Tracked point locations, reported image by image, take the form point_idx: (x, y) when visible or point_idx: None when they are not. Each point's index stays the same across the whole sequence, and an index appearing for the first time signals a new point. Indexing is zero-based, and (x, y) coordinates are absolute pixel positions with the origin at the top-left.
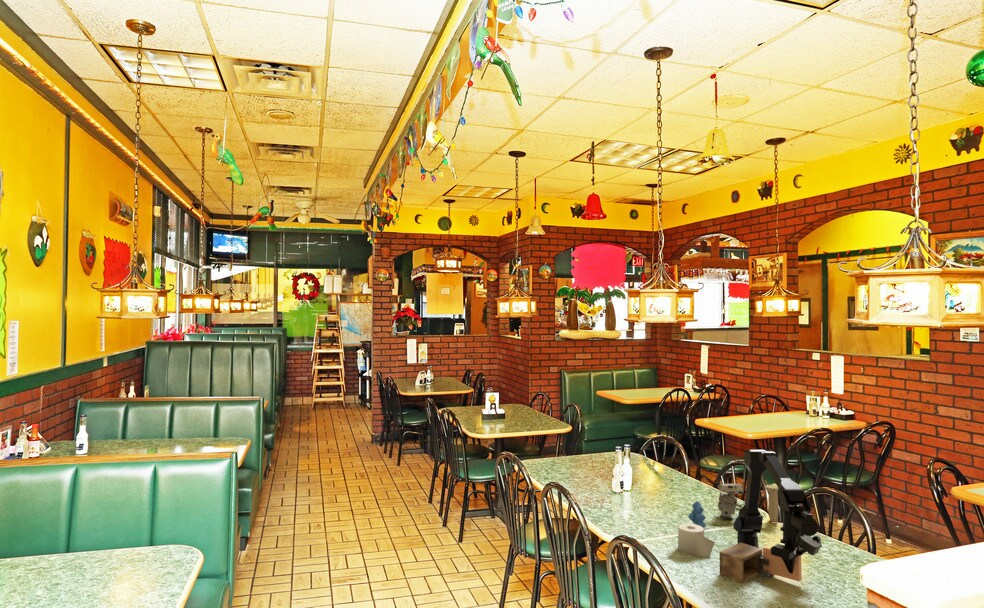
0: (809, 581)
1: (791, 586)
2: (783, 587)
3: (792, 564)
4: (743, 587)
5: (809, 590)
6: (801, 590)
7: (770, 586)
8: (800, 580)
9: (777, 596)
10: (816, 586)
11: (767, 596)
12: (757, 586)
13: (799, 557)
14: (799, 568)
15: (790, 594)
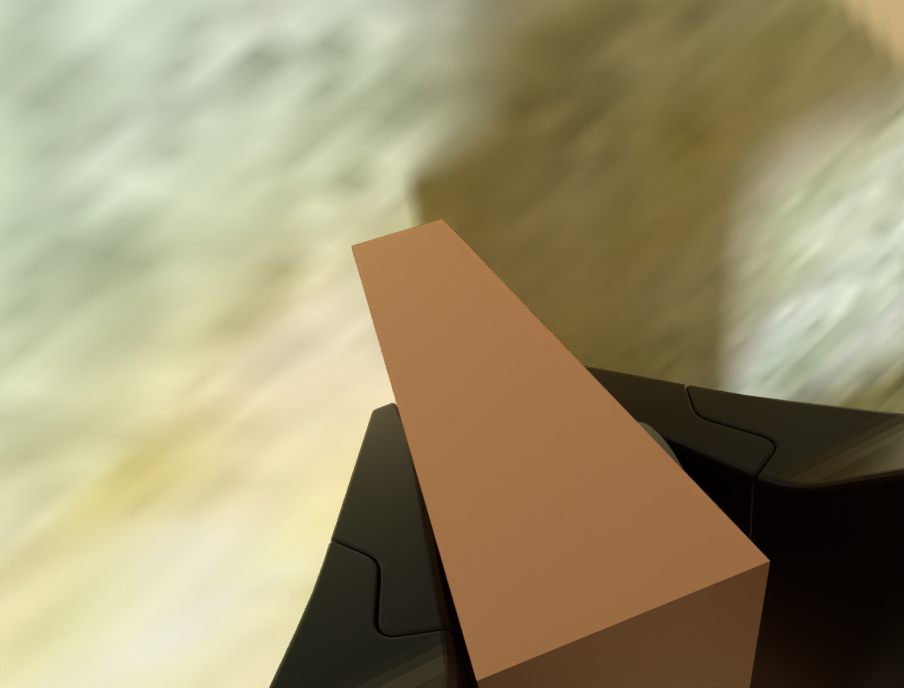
0: (66, 304)
1: (496, 259)
2: (603, 271)
3: (708, 392)
4: (863, 382)
5: (368, 44)
6: (483, 106)
7: (689, 335)
8: (396, 236)
9: (843, 119)
10: (94, 101)
11: (900, 165)
12: (774, 368)
13: (636, 529)
14: (485, 311)
15: (704, 86)
